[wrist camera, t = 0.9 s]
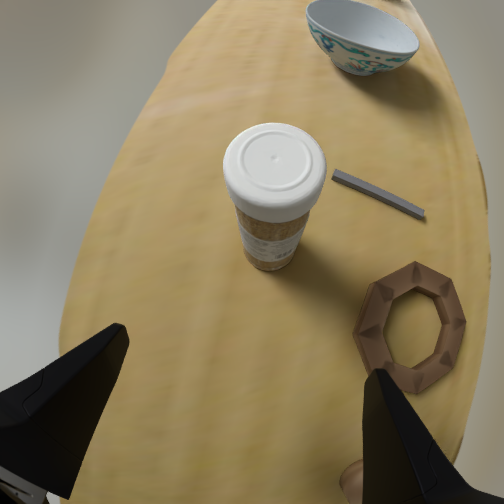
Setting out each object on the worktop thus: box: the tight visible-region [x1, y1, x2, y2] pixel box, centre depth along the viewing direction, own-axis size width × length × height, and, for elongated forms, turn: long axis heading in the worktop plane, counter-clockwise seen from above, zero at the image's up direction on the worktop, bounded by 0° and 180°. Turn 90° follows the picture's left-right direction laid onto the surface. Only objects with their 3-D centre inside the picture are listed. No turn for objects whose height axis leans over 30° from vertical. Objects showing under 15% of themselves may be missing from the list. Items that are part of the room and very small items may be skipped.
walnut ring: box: [353, 261, 466, 394], centre depth 21 cm, size 11×11×2 cm
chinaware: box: [306, 0, 419, 76], centre depth 27 cm, size 15×15×8 cm
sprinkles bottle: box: [223, 123, 327, 271], centre depth 18 cm, size 5×5×14 cm
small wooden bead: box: [340, 459, 363, 504], centre depth 17 cm, size 4×4×3 cm
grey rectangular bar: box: [332, 169, 424, 220], centre depth 25 cm, size 10×1×1 cm, turn 67°
